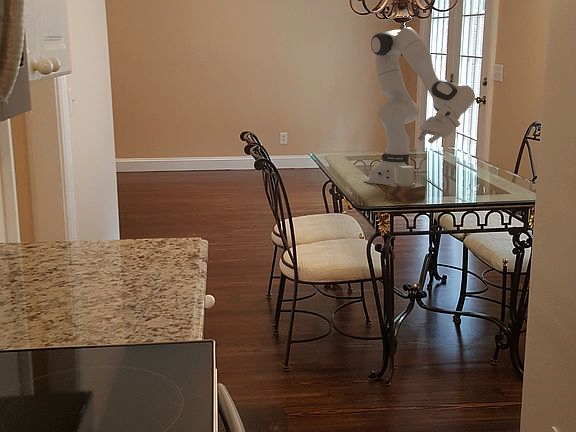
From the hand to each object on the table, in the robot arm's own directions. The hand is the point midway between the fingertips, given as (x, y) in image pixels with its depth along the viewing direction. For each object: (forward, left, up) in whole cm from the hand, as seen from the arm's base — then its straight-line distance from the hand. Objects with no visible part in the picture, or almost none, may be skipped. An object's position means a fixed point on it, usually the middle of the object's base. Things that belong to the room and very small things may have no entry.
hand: (424, 140), depth 301 cm
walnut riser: (-6, -5, -25) cm, 26 cm away
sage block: (-6, -5, -19) cm, 20 cm away
